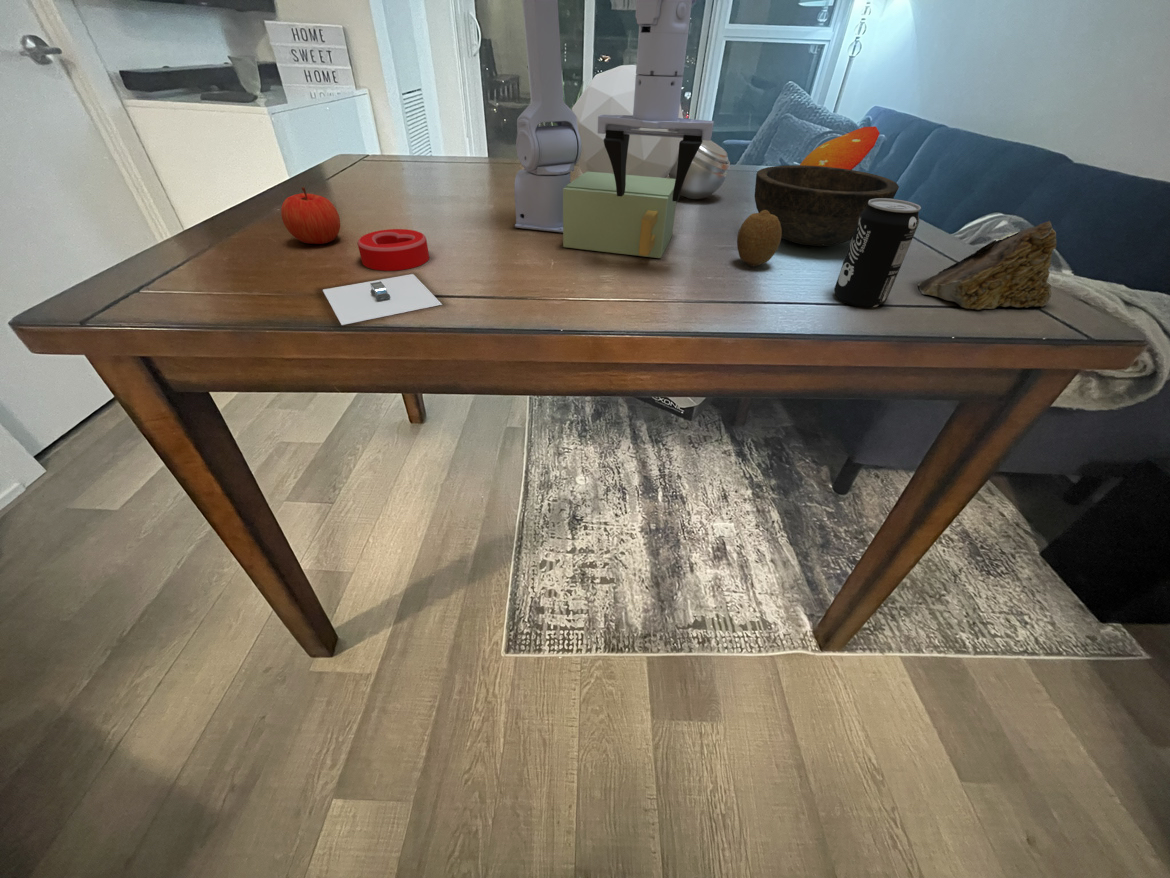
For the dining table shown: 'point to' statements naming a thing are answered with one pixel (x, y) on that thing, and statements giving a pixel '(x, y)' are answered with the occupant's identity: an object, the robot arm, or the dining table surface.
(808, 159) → the decorative mushroom
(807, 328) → the dining table surface
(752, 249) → the fruit
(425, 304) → the white paper sheet
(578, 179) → the cupboard
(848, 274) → the beverage can
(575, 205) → the cupboard door
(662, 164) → the lamp
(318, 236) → the apple
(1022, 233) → the mineral specimen
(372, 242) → the decorative ornament
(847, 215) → the bowl
